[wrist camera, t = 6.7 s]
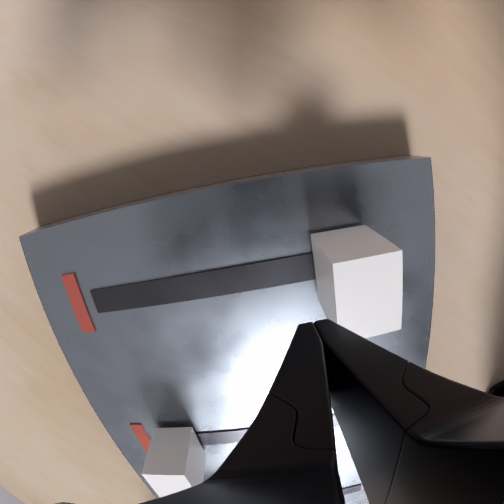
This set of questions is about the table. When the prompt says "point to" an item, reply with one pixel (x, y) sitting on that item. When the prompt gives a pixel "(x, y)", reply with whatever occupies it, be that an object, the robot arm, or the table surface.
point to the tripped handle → (359, 279)
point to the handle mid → (174, 460)
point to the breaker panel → (220, 295)
